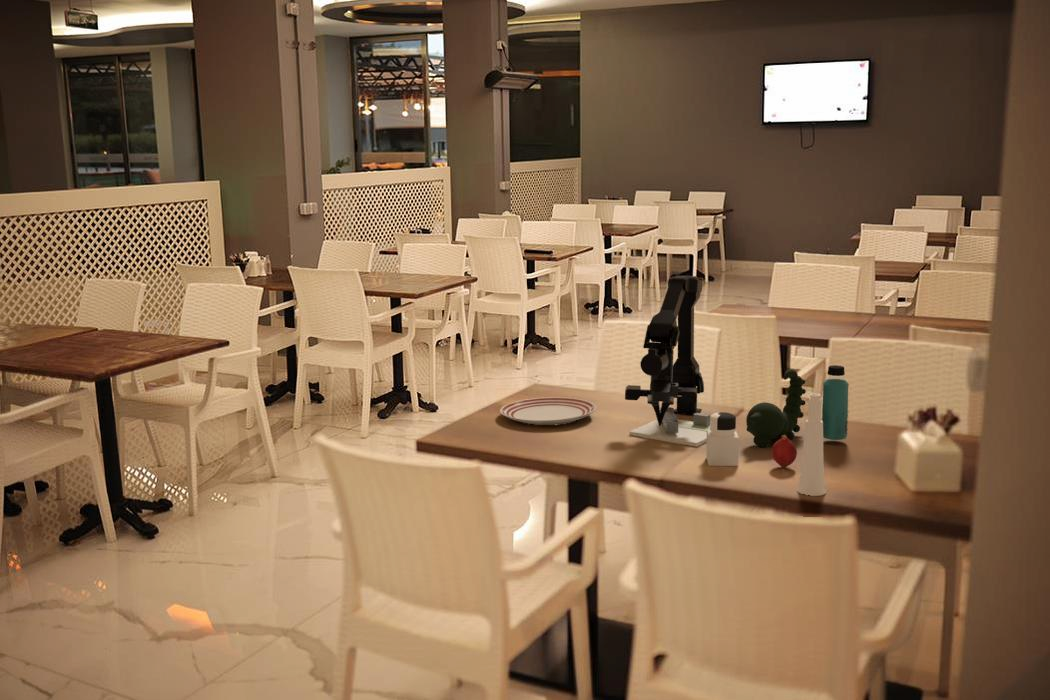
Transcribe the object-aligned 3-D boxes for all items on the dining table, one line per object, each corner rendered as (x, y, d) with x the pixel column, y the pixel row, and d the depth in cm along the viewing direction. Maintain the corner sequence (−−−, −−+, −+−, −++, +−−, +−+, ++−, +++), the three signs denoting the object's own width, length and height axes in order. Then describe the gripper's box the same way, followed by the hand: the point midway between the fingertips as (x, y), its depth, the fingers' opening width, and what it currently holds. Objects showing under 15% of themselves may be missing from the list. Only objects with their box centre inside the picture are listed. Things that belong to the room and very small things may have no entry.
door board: (663, 420, 284) (663, 406, 283) (728, 431, 272) (728, 416, 271) (629, 435, 270) (629, 420, 269) (696, 446, 258) (697, 431, 257)
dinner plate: (487, 427, 281) (486, 416, 280) (516, 404, 306) (516, 393, 306) (583, 433, 273) (583, 422, 272) (605, 409, 298) (605, 398, 298)
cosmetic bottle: (813, 498, 219) (817, 399, 214) (791, 491, 223) (794, 394, 219) (831, 492, 222) (835, 394, 218) (809, 485, 227) (812, 389, 223)
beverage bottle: (848, 446, 256) (851, 369, 252) (821, 445, 257) (824, 368, 254) (845, 439, 262) (849, 363, 259) (819, 438, 264) (822, 363, 260)
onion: (777, 462, 244) (778, 430, 242) (800, 466, 240) (801, 434, 239) (766, 468, 240) (767, 435, 238) (789, 472, 236) (790, 439, 234)
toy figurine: (779, 434, 274) (731, 447, 255) (784, 365, 272) (736, 372, 253) (811, 440, 268) (765, 453, 249) (817, 369, 265) (770, 377, 247)
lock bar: (659, 418, 279) (659, 407, 279) (672, 418, 279) (672, 407, 278) (665, 433, 265) (665, 421, 264) (679, 432, 265) (679, 420, 264)
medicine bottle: (735, 457, 248) (736, 410, 246) (738, 466, 241) (739, 417, 239) (706, 457, 249) (706, 410, 247) (708, 466, 242) (709, 417, 240)
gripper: (625, 373, 259) (623, 432, 262) (698, 376, 257) (696, 435, 260) (626, 364, 270) (625, 420, 273) (697, 366, 268) (695, 423, 271)
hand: (659, 425), depth 269 cm, fingers closed
